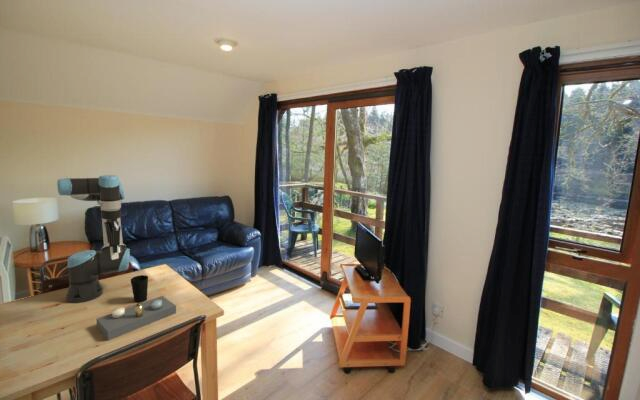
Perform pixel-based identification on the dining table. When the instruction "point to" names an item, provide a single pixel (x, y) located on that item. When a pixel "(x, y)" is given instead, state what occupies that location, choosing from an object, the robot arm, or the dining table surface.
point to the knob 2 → (156, 304)
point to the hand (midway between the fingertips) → (114, 258)
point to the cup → (140, 288)
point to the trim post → (138, 310)
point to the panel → (134, 318)
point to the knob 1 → (118, 312)
